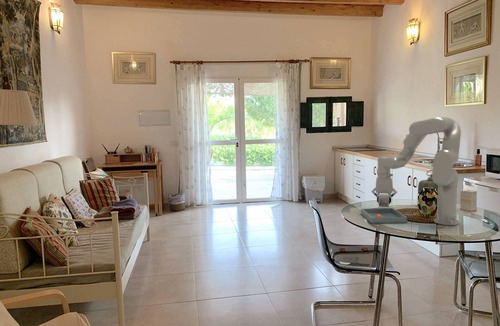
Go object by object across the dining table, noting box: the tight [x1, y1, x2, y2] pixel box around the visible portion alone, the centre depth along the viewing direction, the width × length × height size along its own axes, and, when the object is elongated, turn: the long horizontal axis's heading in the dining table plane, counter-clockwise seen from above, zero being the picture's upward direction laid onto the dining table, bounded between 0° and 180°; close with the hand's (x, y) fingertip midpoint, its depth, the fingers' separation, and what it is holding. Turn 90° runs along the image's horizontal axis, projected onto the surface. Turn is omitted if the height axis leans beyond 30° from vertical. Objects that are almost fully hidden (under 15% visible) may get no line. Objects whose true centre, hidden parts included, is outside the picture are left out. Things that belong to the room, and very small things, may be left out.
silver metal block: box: [378, 193, 390, 208], centre depth 228 cm, size 12×6×6 cm, turn 157°
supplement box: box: [459, 188, 478, 213], centre depth 227 cm, size 8×5×13 cm, turn 22°
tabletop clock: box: [417, 169, 438, 195], centre depth 242 cm, size 14×9×25 cm, turn 90°
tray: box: [360, 207, 408, 225], centre depth 216 cm, size 24×20×4 cm
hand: (384, 203), depth 228 cm, fingers closed on silver metal block, 6 cm apart
